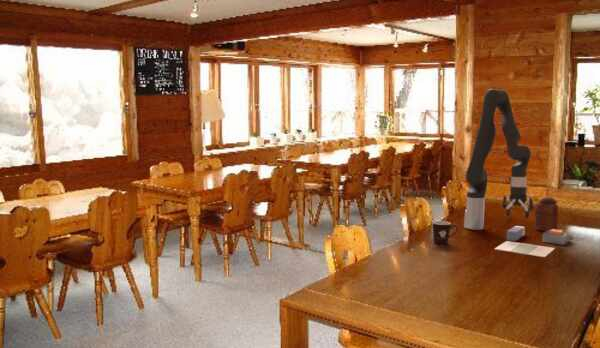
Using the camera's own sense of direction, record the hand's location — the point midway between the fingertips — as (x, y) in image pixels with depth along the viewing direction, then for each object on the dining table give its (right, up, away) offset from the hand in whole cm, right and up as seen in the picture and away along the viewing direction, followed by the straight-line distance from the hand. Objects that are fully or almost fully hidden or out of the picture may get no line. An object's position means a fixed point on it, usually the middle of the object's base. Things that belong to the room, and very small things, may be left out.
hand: (517, 217), depth 275 cm
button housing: (+16, -11, -6) cm, 21 cm away
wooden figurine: (+22, -9, +17) cm, 29 cm away
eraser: (0, -10, +1) cm, 10 cm away
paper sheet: (-5, -13, -20) cm, 25 cm away
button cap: (+16, -9, -7) cm, 20 cm away
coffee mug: (-40, -12, -10) cm, 43 cm away
